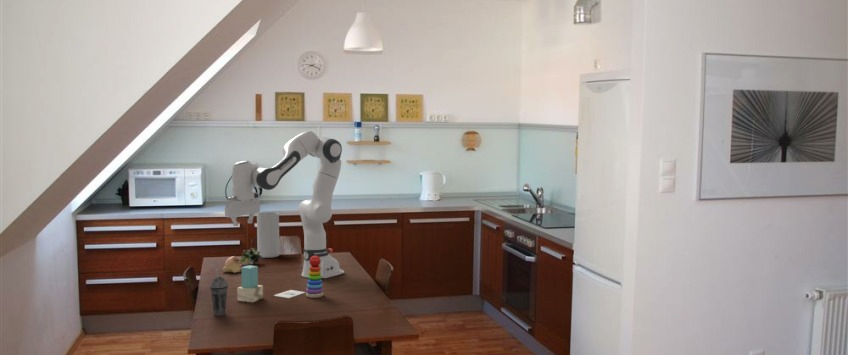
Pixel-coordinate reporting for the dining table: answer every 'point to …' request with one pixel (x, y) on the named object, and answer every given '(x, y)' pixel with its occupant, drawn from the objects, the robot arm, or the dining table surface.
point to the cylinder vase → (268, 234)
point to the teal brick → (249, 276)
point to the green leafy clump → (251, 256)
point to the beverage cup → (219, 294)
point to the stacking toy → (314, 279)
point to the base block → (250, 293)
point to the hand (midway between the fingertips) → (242, 224)
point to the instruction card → (289, 294)
